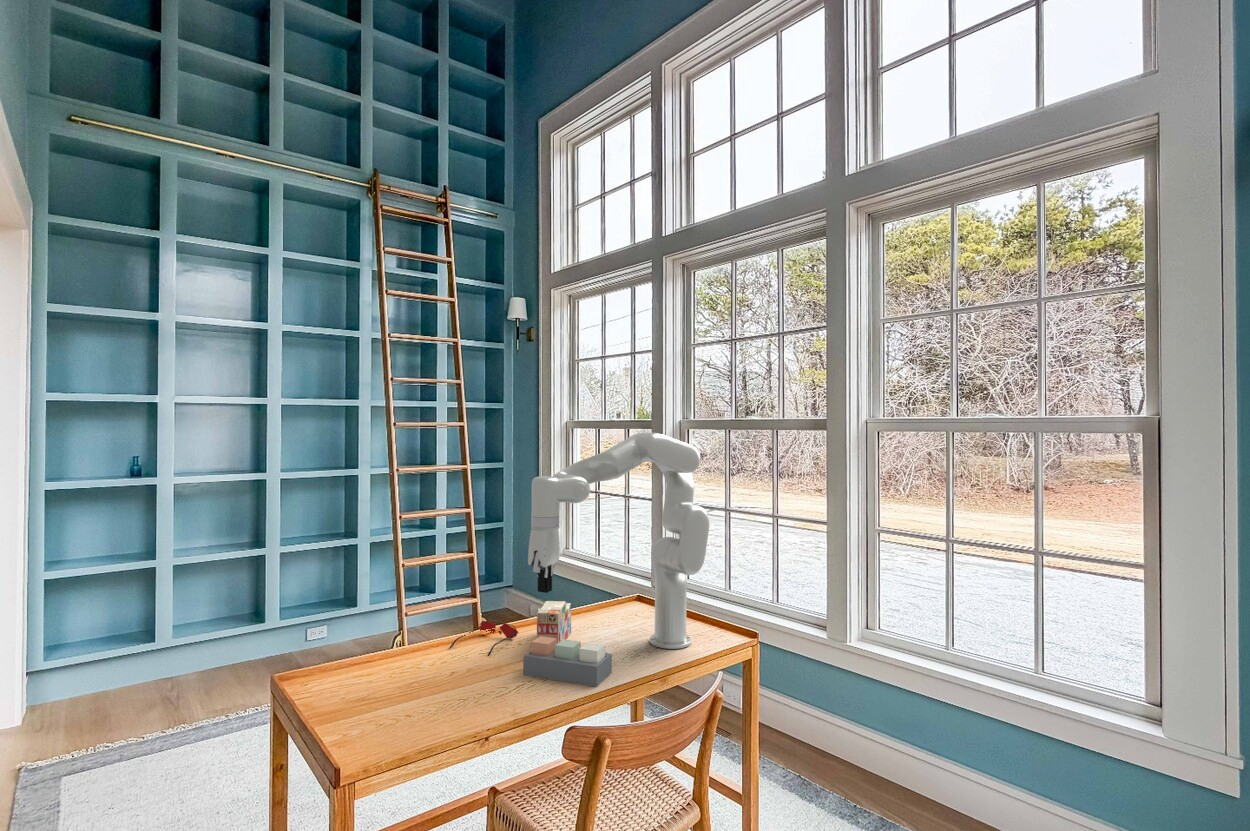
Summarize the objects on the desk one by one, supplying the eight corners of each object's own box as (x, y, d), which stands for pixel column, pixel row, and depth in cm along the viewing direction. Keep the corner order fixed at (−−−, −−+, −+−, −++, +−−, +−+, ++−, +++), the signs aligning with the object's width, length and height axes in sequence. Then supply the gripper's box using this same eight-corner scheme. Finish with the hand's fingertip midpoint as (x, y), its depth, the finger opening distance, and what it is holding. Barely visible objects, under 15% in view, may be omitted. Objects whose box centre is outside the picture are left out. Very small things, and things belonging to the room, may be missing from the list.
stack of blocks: (551, 631, 211) (552, 592, 211) (571, 632, 210) (571, 593, 210) (536, 655, 189) (536, 611, 189) (557, 656, 189) (558, 612, 189)
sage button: (563, 657, 178) (563, 639, 178) (580, 660, 177) (580, 641, 177) (555, 664, 174) (555, 645, 174) (572, 666, 172) (572, 647, 172)
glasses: (519, 640, 203) (519, 624, 203) (488, 658, 187) (488, 640, 188) (480, 634, 208) (480, 618, 208) (447, 651, 193) (447, 634, 193)
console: (541, 662, 184) (541, 643, 184) (611, 672, 176) (611, 653, 176) (523, 674, 174) (523, 655, 174) (596, 686, 167) (597, 666, 167)
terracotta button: (540, 654, 181) (540, 636, 181) (556, 657, 179) (556, 638, 179) (531, 660, 176) (531, 641, 176) (548, 663, 174) (548, 644, 174)
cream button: (587, 661, 176) (587, 642, 176) (604, 664, 174) (604, 644, 174) (579, 667, 171) (579, 648, 171) (597, 670, 170) (597, 651, 170)
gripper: (546, 518, 186) (545, 583, 186) (518, 525, 172) (518, 597, 172) (570, 519, 184) (569, 586, 184) (544, 527, 170) (544, 599, 169)
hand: (544, 591), depth 178 cm, fingers closed
